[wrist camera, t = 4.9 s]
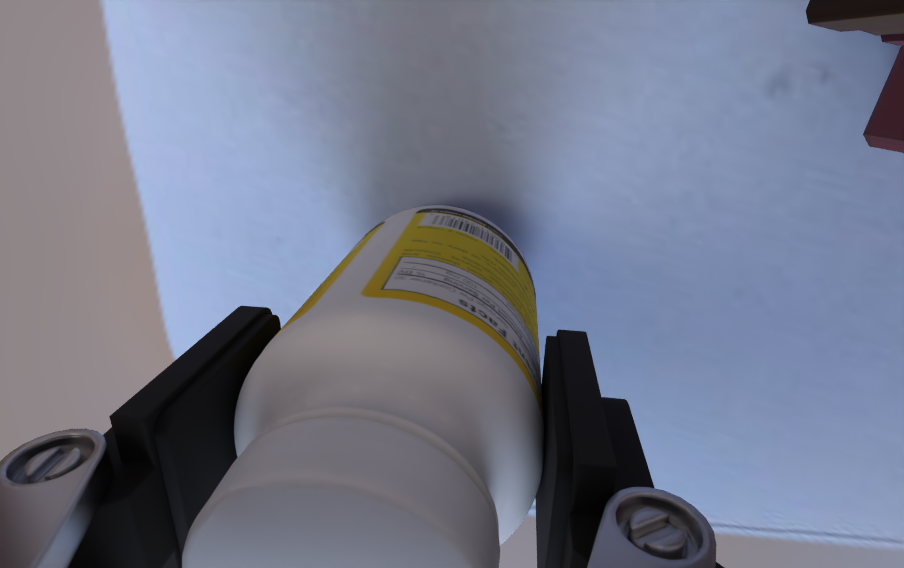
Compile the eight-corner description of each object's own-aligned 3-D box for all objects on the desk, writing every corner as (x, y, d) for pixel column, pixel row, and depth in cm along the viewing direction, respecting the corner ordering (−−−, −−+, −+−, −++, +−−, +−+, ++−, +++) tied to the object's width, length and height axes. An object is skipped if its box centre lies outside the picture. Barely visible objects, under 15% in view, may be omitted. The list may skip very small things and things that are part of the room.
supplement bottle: (386, 388, 17) (229, 749, 8) (324, 228, 15) (34, 461, 6) (556, 356, 16) (594, 737, 7) (510, 178, 14) (481, 377, 5)
